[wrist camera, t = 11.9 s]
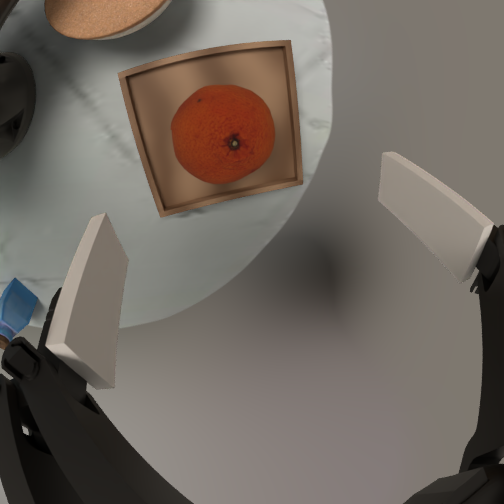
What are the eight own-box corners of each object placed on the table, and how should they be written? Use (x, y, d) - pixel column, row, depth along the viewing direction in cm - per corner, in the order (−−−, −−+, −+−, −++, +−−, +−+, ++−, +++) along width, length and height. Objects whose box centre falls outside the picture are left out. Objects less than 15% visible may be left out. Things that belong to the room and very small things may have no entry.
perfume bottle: (15, 277, 35) (-8, 329, 26) (38, 297, 39) (20, 350, 29) (4, 290, 35) (-16, 339, 26) (25, 309, 39) (9, 358, 30)
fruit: (245, 69, 22) (269, 69, 15) (271, 147, 27) (300, 176, 21) (157, 103, 22) (146, 117, 16) (192, 178, 28) (196, 217, 21)
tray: (163, 190, 34) (160, 217, 28) (131, 72, 23) (117, 73, 18) (283, 162, 35) (303, 184, 30) (269, 45, 25) (290, 40, 19)
